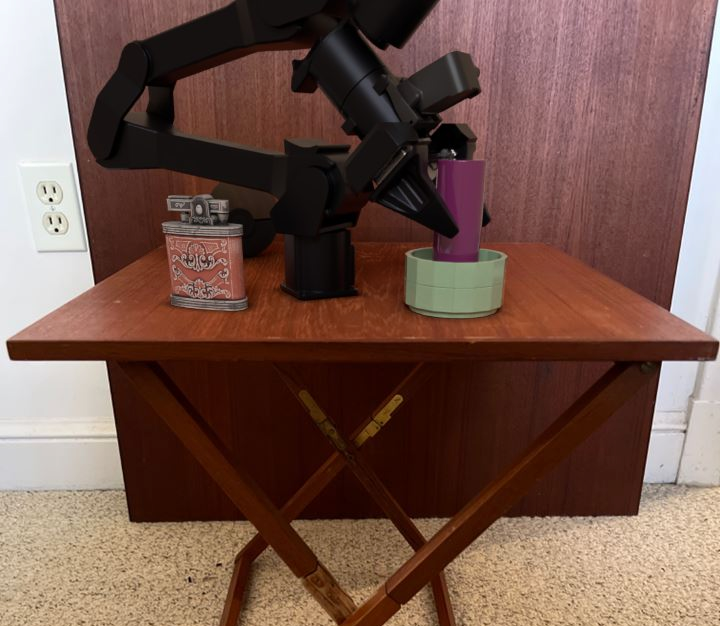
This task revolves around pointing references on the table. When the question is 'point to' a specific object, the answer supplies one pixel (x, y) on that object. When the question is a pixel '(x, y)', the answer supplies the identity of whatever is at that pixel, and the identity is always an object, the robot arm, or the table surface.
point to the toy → (249, 215)
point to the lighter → (205, 255)
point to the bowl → (454, 284)
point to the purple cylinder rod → (461, 208)
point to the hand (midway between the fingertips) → (472, 229)
